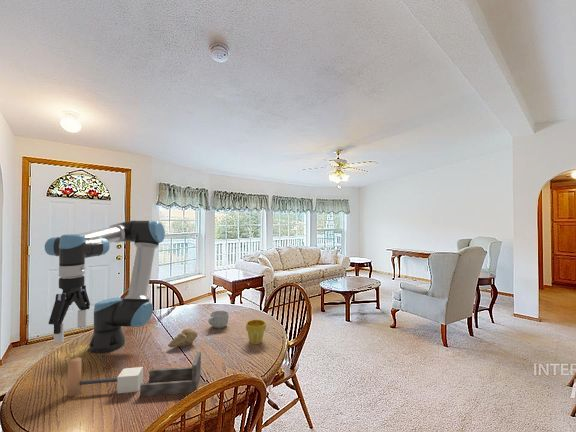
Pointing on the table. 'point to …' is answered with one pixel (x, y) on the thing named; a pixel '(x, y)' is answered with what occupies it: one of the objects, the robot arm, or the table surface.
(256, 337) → the plant pot
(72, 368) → the push rod with block
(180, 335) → the seashell
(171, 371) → the shelf lane
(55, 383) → the table surface
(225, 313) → the teacup
